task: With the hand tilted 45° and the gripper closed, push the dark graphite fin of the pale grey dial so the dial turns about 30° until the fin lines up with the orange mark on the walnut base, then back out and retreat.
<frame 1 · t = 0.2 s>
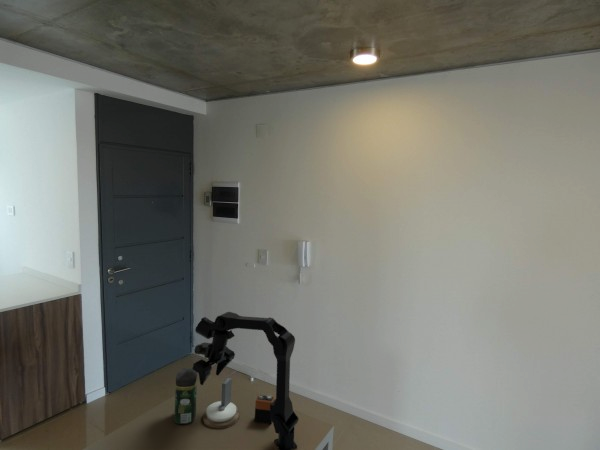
hand: (209, 379, 138), 15 cm above the table, tool pointing down, fingers open, 9 cm apart
coffee jar: (184, 418, 138), on the table
battery: (263, 420, 139), on the table
dial base: (221, 417, 140), on the table
dial: (222, 398, 139), point 8 cm above the table, hinge at 0.0°
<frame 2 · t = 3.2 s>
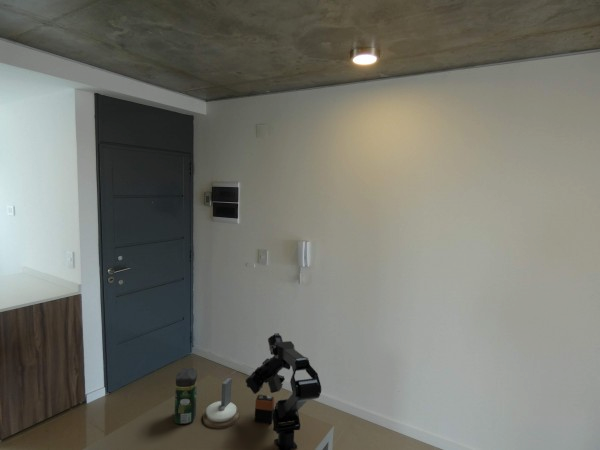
hand: (247, 386, 141), 12 cm above the table, tool tilted 45°, fingers closed
nothing on the table moved.
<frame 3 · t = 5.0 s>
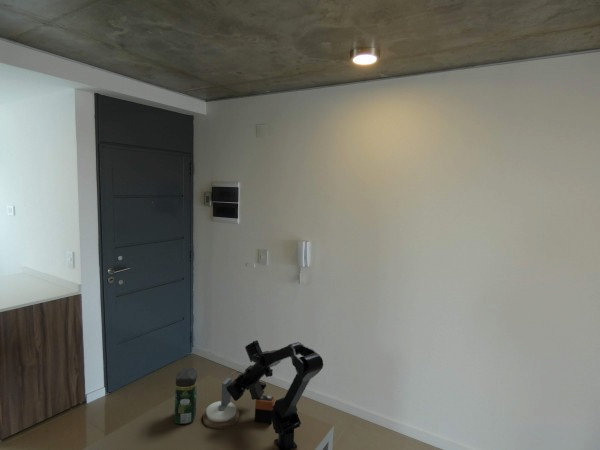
hand: (230, 392, 144), 8 cm above the table, tool tilted 45°, fingers closed, pressing on dial
dial: (222, 398, 139), point 8 cm above the table, hinge at 0.7°, touching gripper
everything else where it was.
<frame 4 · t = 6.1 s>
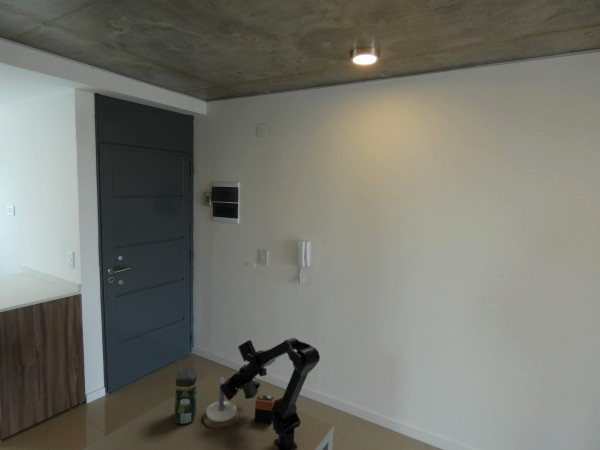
hand: (224, 392, 144), 8 cm above the table, tool tilted 45°, fingers closed, pressing on dial
dial: (222, 398, 139), point 8 cm above the table, hinge at 32.0°, touching gripper
everything else where it was.
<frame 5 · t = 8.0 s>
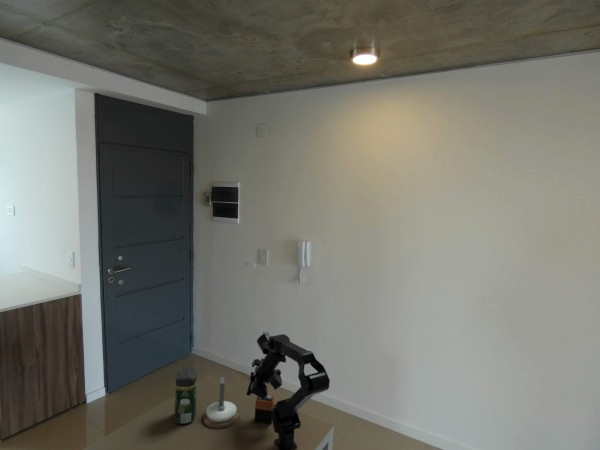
hand: (247, 394, 136), 12 cm above the table, tool tilted 30°, fingers closed
dial: (222, 398, 139), point 8 cm above the table, hinge at 32.6°
everything else where it was.
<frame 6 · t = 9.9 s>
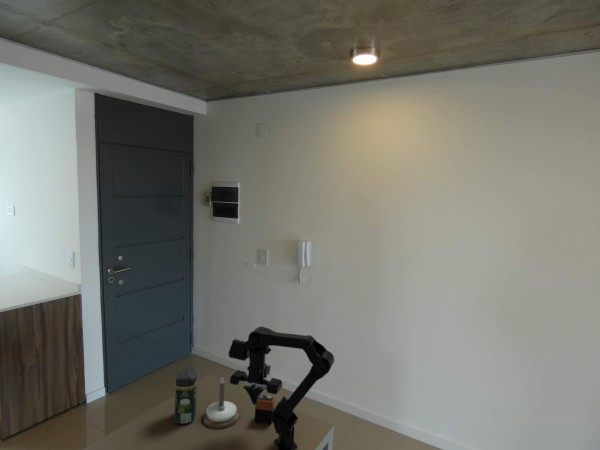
hand: (254, 404, 129), 12 cm above the table, tool pointing down, fingers closed
nothing on the table moved.
at the end: dial at +33° (first picture: +0°); coffee jar moved 0.2 cm from its start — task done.
